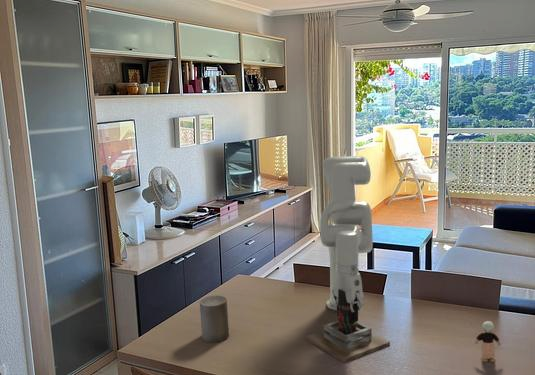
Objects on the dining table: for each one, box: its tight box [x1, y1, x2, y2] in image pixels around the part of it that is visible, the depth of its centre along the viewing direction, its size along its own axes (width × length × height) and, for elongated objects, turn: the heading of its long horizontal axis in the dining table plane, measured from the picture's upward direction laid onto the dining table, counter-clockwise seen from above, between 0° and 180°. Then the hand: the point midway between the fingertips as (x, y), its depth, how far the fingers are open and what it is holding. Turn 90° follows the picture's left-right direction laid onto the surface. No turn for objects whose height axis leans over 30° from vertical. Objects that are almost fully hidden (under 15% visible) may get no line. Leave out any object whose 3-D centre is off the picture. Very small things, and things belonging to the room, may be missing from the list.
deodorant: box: [337, 289, 356, 335], centre depth 177 cm, size 6×6×15 cm
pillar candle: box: [199, 294, 230, 343], centre depth 185 cm, size 10×10×15 cm
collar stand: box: [306, 319, 391, 363], centre depth 179 cm, size 20×20×6 cm
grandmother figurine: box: [474, 320, 502, 363], centre depth 163 cm, size 8×4×13 cm, turn 92°
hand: (347, 318), depth 177 cm, fingers closed on deodorant, 5 cm apart
